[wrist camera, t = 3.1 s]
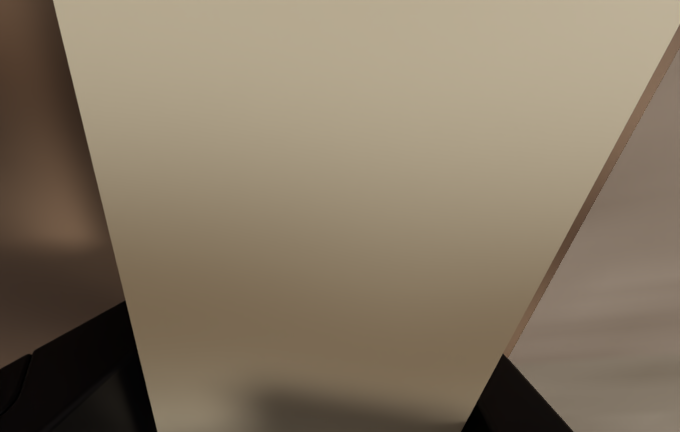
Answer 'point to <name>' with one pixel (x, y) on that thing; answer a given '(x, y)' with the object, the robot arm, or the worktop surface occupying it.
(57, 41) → the mounting board
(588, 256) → the worktop surface
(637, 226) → the worktop surface
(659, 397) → the worktop surface
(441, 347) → the rail
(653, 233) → the worktop surface
